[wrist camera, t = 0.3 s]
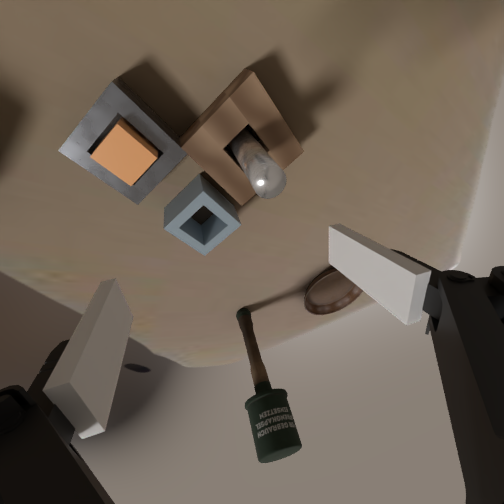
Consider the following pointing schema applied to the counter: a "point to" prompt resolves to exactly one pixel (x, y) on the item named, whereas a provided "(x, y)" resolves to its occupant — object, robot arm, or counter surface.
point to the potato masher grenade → (267, 405)
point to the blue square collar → (192, 201)
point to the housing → (139, 116)
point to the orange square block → (125, 152)
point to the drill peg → (258, 165)
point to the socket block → (229, 125)
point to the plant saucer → (330, 293)
